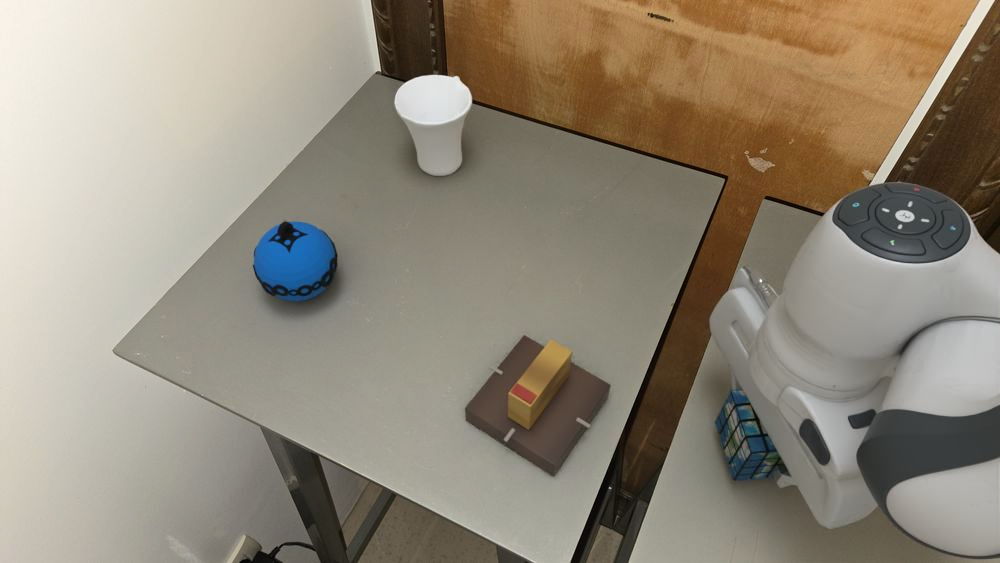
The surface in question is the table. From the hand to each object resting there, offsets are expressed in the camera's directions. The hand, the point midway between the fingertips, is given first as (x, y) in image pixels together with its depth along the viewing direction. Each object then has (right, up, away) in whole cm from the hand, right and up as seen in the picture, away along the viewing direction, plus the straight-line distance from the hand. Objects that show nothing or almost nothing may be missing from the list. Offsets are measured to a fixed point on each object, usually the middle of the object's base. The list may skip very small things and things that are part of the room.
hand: (761, 439), depth 67 cm
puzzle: (0, -1, +2) cm, 2 cm away
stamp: (-20, +3, +4) cm, 20 cm away
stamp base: (-20, +2, +6) cm, 21 cm away
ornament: (-45, +14, +15) cm, 49 cm away
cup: (-31, +29, +27) cm, 50 cm away
